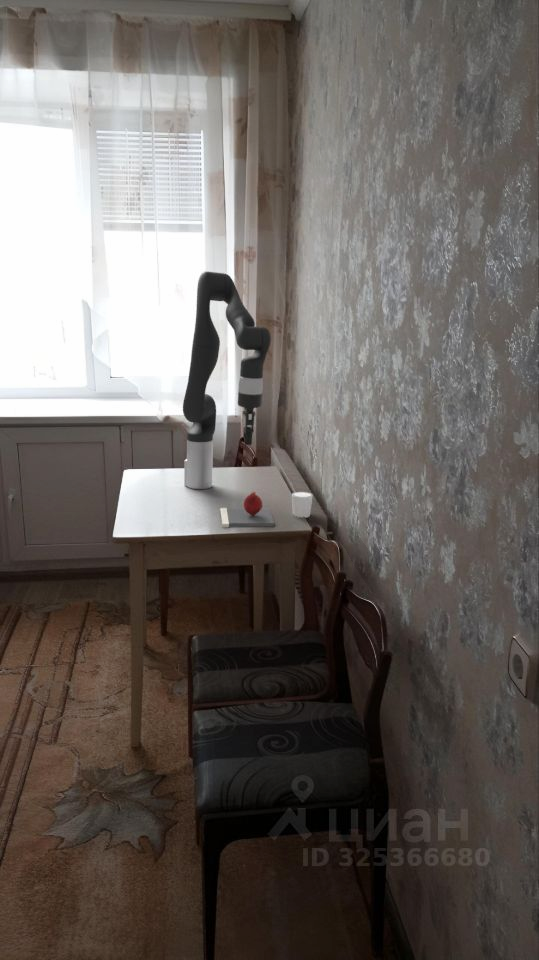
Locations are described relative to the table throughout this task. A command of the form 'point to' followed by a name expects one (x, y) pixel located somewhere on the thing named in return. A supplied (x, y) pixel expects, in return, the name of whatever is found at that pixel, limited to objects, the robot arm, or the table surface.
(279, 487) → the table surface
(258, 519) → the mat
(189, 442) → the robot arm
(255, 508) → the onion
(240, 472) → the table surface
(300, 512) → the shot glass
